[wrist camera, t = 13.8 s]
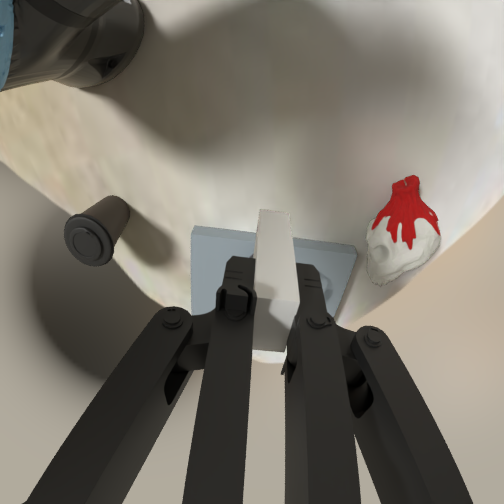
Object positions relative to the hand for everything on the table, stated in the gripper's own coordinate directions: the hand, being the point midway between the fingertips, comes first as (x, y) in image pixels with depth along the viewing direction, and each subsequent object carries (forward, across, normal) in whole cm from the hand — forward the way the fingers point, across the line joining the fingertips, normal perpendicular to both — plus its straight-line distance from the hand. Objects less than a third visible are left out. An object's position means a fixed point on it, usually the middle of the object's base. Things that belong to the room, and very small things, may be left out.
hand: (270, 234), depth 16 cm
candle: (+25, +20, -8) cm, 33 cm away
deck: (+24, +3, -22) cm, 33 cm away
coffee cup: (+25, -22, -13) cm, 35 cm away
